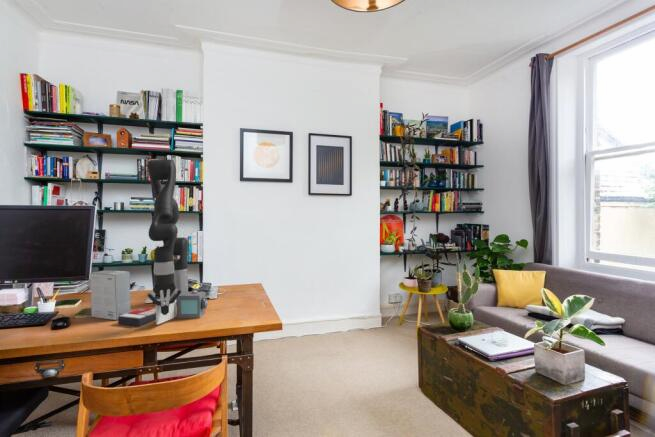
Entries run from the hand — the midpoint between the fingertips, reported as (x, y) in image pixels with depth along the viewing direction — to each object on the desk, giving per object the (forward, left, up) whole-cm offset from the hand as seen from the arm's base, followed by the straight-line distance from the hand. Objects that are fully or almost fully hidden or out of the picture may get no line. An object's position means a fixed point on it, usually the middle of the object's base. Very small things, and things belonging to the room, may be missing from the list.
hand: (165, 314), depth 138 cm
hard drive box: (-33, +6, -5) cm, 34 cm away
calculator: (-15, +5, -6) cm, 17 cm away
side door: (-3, +3, -4) cm, 6 cm away
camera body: (+3, +14, -5) cm, 15 cm away
